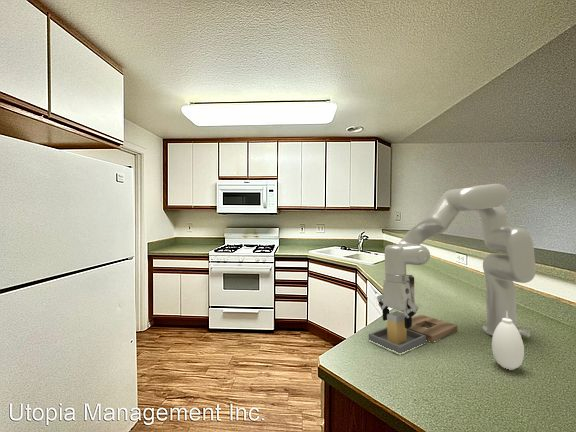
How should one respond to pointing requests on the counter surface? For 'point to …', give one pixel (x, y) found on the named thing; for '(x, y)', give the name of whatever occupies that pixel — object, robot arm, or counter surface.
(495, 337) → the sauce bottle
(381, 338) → the parts tray
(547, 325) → the counter surface
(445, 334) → the wooden plate with hole
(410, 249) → the robot arm
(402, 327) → the block
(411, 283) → the coffee box
